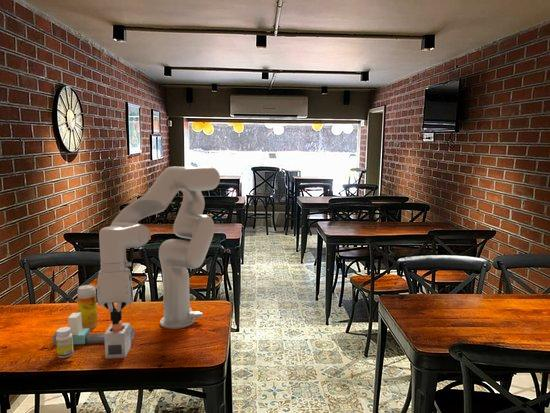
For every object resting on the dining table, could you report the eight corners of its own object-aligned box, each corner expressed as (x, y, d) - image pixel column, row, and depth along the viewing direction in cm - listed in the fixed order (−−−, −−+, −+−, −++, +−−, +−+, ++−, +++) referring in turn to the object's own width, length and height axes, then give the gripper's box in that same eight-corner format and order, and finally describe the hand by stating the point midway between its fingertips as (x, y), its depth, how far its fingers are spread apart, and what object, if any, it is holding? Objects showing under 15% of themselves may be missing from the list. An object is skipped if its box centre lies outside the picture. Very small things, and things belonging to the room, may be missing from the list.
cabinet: (131, 345, 144) (129, 322, 143) (125, 357, 136) (123, 333, 135) (112, 346, 143) (111, 323, 142) (105, 358, 135) (103, 334, 134)
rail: (134, 336, 151) (133, 326, 151) (131, 342, 146) (130, 332, 146) (59, 339, 149) (58, 329, 148) (53, 346, 144) (52, 335, 143)
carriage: (89, 336, 150) (88, 311, 149) (84, 344, 144) (82, 317, 143) (68, 337, 149) (66, 312, 148) (62, 345, 144) (60, 318, 143)
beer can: (91, 330, 156) (88, 290, 154) (76, 329, 157) (73, 289, 155) (101, 323, 162) (98, 284, 160) (86, 322, 163) (83, 283, 161)
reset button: (123, 331, 140) (123, 320, 140) (121, 335, 138) (120, 323, 137) (114, 332, 140) (113, 320, 140) (111, 336, 137) (110, 324, 137)
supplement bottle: (60, 351, 140) (58, 326, 139) (75, 350, 141) (74, 325, 140) (54, 358, 136) (52, 332, 134) (70, 357, 136) (68, 332, 135)
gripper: (140, 262, 140) (142, 317, 143) (92, 263, 139) (95, 318, 141) (135, 268, 133) (138, 326, 135) (84, 270, 131) (88, 328, 134)
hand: (116, 322), depth 138 cm, fingers closed
